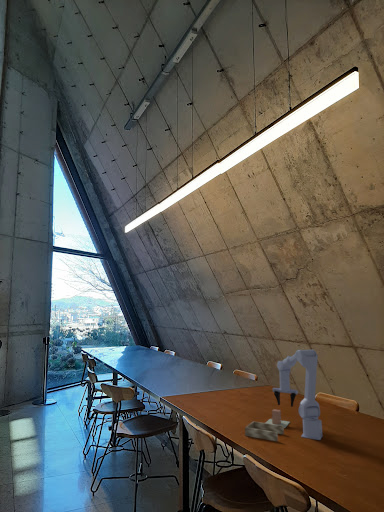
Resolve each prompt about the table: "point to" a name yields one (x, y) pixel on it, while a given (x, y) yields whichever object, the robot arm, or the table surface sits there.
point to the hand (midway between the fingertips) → (285, 405)
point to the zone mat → (283, 423)
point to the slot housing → (264, 430)
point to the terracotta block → (276, 416)
